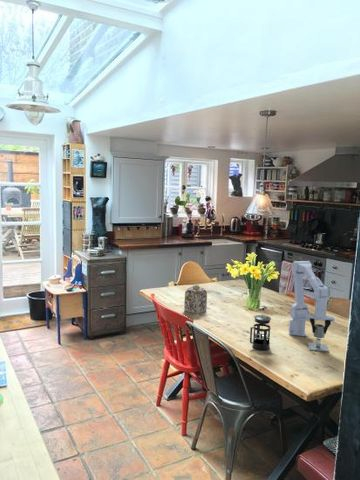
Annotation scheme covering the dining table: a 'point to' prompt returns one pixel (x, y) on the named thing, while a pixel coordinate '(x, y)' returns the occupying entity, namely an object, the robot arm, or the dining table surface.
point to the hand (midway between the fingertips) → (319, 332)
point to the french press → (261, 339)
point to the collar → (319, 331)
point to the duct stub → (318, 346)
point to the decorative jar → (195, 300)
